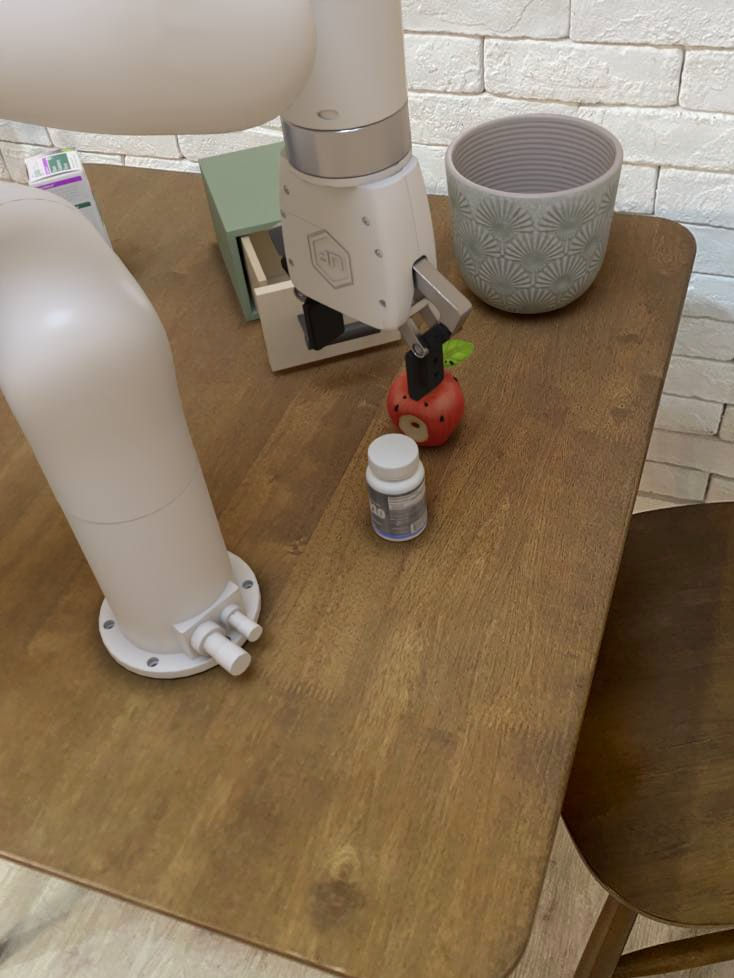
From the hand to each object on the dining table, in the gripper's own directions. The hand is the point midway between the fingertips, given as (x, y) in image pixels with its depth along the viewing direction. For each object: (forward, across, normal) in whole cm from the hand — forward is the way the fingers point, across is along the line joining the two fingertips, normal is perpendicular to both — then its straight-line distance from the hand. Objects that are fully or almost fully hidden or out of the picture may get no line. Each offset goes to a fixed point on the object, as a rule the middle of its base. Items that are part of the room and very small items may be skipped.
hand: (375, 364), depth 68 cm
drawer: (+15, -23, +15) cm, 31 cm away
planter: (+16, -10, +34) cm, 39 cm away
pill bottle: (+16, +1, 0) cm, 16 cm away
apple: (+16, -4, +10) cm, 19 cm away
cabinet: (+16, -35, +22) cm, 44 cm away
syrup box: (+16, -51, +6) cm, 54 cm away
